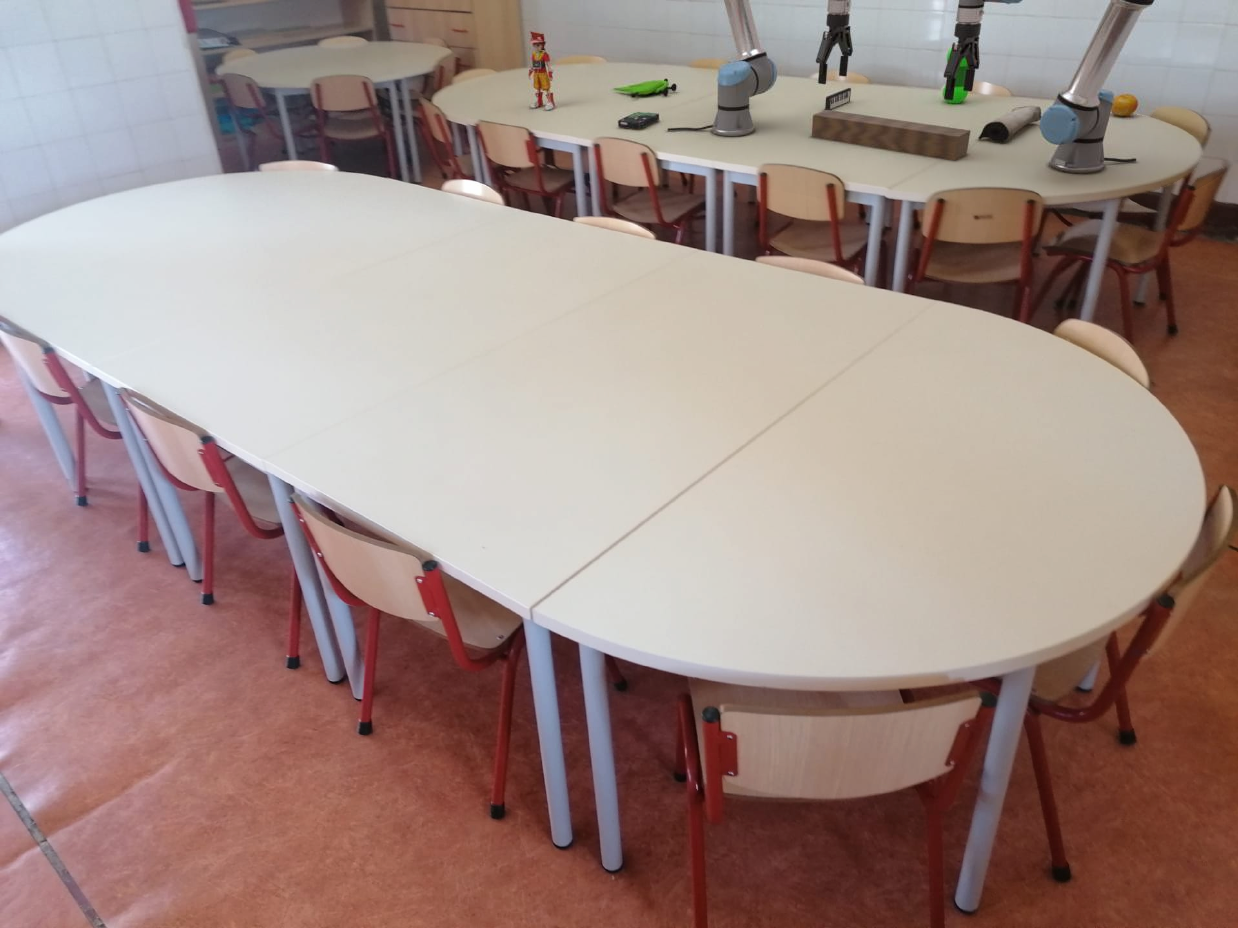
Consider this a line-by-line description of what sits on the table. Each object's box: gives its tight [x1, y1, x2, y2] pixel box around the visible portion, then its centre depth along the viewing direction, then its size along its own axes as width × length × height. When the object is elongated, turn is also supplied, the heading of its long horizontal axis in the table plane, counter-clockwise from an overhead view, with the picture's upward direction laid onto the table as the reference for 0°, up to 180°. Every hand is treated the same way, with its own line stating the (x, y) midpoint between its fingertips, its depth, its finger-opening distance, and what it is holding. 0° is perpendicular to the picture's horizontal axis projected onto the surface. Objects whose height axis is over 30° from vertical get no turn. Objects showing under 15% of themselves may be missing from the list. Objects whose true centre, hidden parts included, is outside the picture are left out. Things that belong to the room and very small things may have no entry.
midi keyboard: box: [824, 87, 852, 110], centre depth 358 cm, size 18×1×5 cm, turn 138°
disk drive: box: [617, 111, 660, 130], centre depth 351 cm, size 10×3×15 cm
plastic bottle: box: [942, 47, 969, 104], centre depth 348 cm, size 10×10×25 cm
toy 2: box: [612, 78, 677, 99], centre depth 396 cm, size 28×5×30 cm
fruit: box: [1111, 93, 1139, 117], centre depth 325 cm, size 8×9×8 cm
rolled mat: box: [977, 105, 1042, 144], centre depth 315 cm, size 30×9×10 cm
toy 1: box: [527, 31, 556, 111], centre depth 374 cm, size 12×9×30 cm
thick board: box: [811, 109, 972, 161], centre depth 310 cm, size 55×9×8 cm, turn 47°
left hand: (832, 80), depth 314 cm, fingers open, 13 cm apart
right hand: (958, 95), depth 288 cm, fingers open, 13 cm apart
